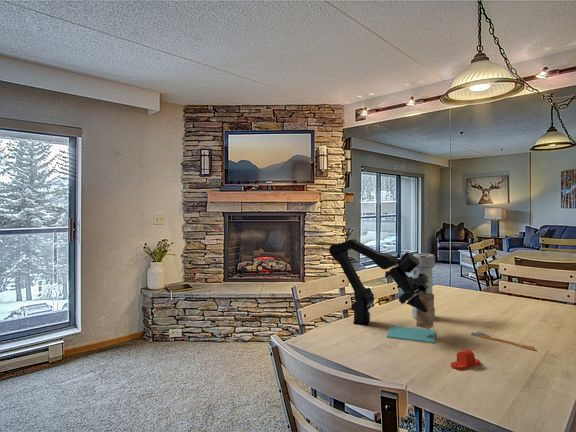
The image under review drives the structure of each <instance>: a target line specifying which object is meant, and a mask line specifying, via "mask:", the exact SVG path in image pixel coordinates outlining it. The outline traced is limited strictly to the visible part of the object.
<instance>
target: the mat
mask: <svg viewBox="0 0 576 432" xmlns="http://www.w3.org/2000/svg"><path fill="white" fill-rule="evenodd" d="M435 334H436V330H434V329H426V328H420V327H419V328H418V327H417V328H416V327H408V326H399V325H389V329H388V331H387V334H386V338H388V339H389V338H390V339H397V340H403V341H404V340H405V341H411V342H412V341H413V342H422V343H427V344H436V335H435Z"/></svg>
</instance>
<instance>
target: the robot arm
mask: <svg viewBox="0 0 576 432" xmlns="http://www.w3.org/2000/svg"><path fill="white" fill-rule="evenodd" d="M349 250H353V251H355V252H357V253H358V254H361V255H363V256H364V257H366V258H368V259H370V260H372V262H374V265H377V267H379V268H380V269H382V270H386V271H385V274H384V278H385V279H387V278H391V279H392V280H393V281H394V282H395V283H396V285H397V286H396V288H397V289H401V291H402V292H403V293H402V294H401V295H400V296H398V301H399V303H400V304H401V305H404V304H406V305H409V306H411V307H412V306H413V307H415V308H417V309H419V310H421V311H423V312H425V313H426V312H427V310H426V308H425V307H424V305H423V304H422V302H421V301H420V299H419V293H421V292H423V293H426V291H427V290H426V289H428V288H429V287H428V286H427V285H426V283H427V282H428V279H427V278H428V276H426V275H425V274H424V273H422V274H419V275H418V277H417V278H415V279H413V276H409V275H408V274H407V273H409V274H410V273H412V272H413V269H415V268H416V267H417V266H418V265H419V264H420V262H419V260H418V259H417V258H416V257H415V256H413V253H412V254H411V253H410V252H409V251H407V252H405V253H404V254H403V255H402V256H401V258H396V257H395V255H392V254H390V253H386V252H381V251H377V250H376V249H374V248H372V247H370V246H368V245H366V244H364V243H362V242H360V241H358V240H357V239H355V238H353V239H347V240H346V241H344V242H339V243H334V244H331V245H330V247H329V249H328V252H329V254H330V255H331V258H333V259H334V260H335V261H336V262H337V263H338V264H339V265H340V267H341V269H342V271H343V274H344V275H345V277H346V278H347V280H348V282H349V284H350V286H351V288H352V289H353V290H352V291H353V296H354V299H355V301H354V302H353V303H352V304H351V305H350V306H351V311H353V322H352V324H354V325H363V326H368V325H369V324H370V323H371V312H370V310H369V309H371V307H372V305H373V304H374V302H375V297H374V296H375V294H374V293H373V292H372V290H371V288H370V287H365V286H364V284H363V283H362V280H361V278H360V277H359V275H358V274H357V272H356V270H355V268H354V266H353V264H352V263H351V261H350V259H349ZM395 266H396V267H395ZM387 269H389V270H387Z"/></svg>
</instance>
